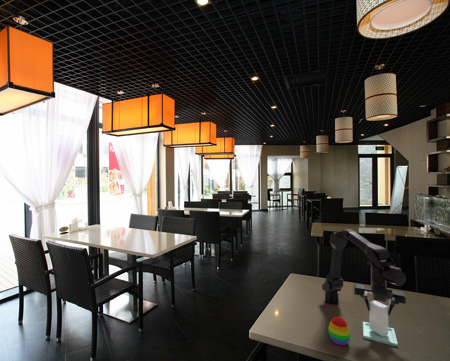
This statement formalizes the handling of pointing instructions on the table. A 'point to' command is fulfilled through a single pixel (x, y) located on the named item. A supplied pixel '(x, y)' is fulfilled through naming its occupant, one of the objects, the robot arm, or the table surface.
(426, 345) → the table surface
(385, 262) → the robot arm
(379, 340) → the tray
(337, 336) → the decorative egg
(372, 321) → the skincare box
